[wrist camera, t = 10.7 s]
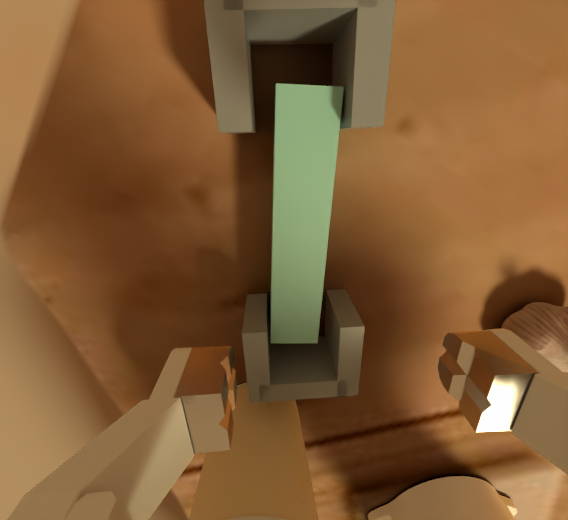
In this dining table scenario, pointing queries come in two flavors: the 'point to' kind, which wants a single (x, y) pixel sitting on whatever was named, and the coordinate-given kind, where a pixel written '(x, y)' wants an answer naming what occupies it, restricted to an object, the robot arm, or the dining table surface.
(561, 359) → the garlic bulb
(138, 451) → the robot arm
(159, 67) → the dining table surface
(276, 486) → the coffee cup
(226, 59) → the cap
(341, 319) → the cap
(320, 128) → the slat
